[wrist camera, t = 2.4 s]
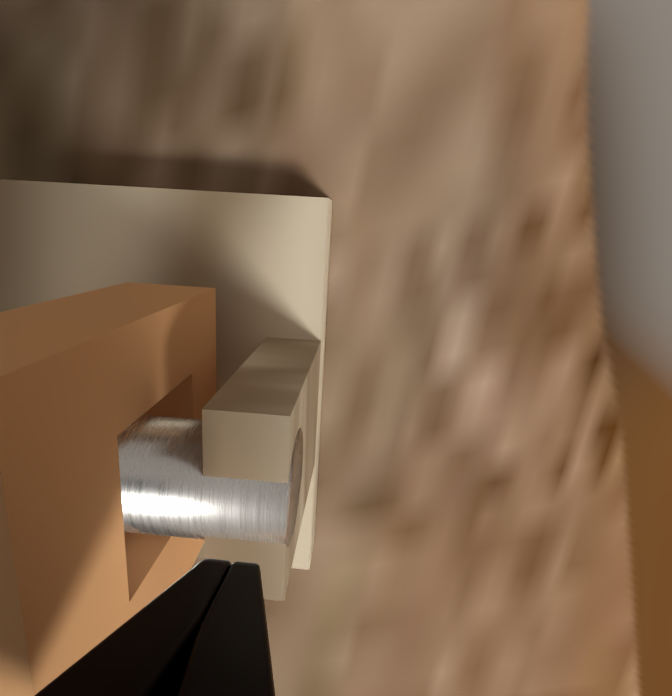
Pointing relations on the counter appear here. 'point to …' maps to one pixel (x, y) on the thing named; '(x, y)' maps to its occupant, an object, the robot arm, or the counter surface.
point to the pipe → (198, 487)
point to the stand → (231, 314)
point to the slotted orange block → (87, 464)
